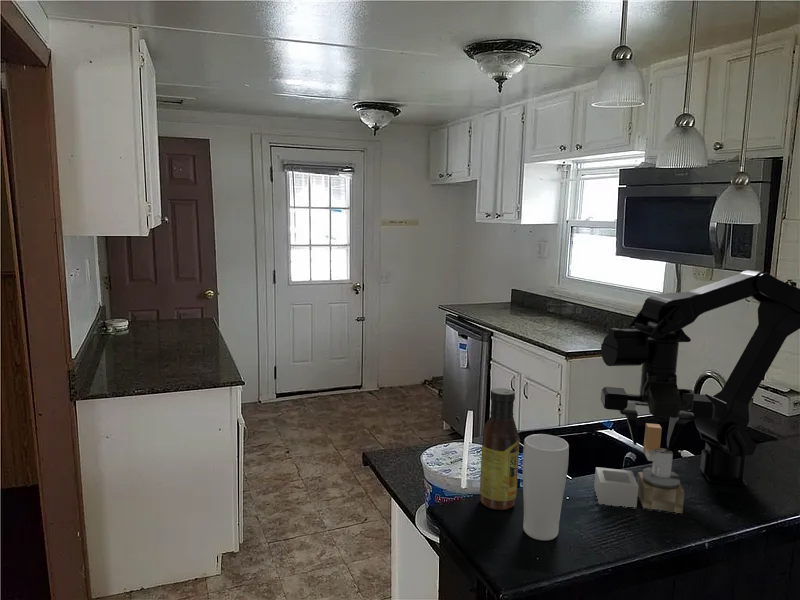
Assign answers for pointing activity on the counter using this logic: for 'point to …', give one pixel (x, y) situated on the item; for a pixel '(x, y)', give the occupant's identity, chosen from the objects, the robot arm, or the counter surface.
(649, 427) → the tan and grey l-block
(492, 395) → the sauce bottle
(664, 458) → the grey flanged peg
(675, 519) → the counter surface
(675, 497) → the birch socket block
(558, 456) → the drinking glass
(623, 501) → the grey block
